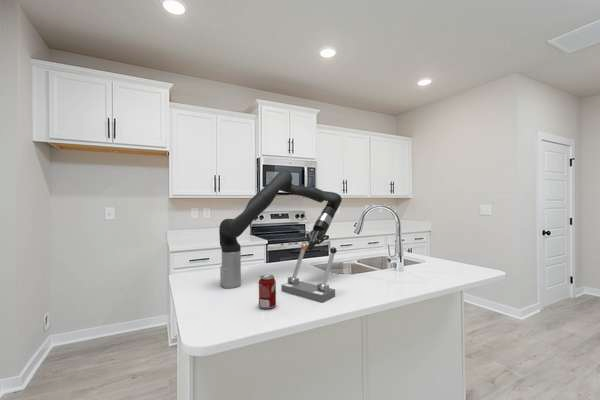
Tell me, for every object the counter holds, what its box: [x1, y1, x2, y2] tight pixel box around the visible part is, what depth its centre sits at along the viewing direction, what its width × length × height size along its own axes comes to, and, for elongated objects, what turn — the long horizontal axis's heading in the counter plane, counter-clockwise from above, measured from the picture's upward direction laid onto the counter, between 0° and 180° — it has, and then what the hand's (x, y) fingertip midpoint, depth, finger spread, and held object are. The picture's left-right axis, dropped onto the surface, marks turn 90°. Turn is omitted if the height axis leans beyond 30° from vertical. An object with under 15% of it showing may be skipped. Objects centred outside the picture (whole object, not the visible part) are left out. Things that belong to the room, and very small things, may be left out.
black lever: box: [319, 246, 338, 291], centre depth 125 cm, size 3×3×20 cm
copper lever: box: [290, 243, 308, 283], centre depth 136 cm, size 3×3×20 cm
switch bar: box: [281, 276, 336, 304], centre depth 127 cm, size 10×23×6 cm, turn 51°
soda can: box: [258, 274, 277, 310], centre depth 112 cm, size 7×7×12 cm
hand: (309, 249), depth 142 cm, fingers closed
